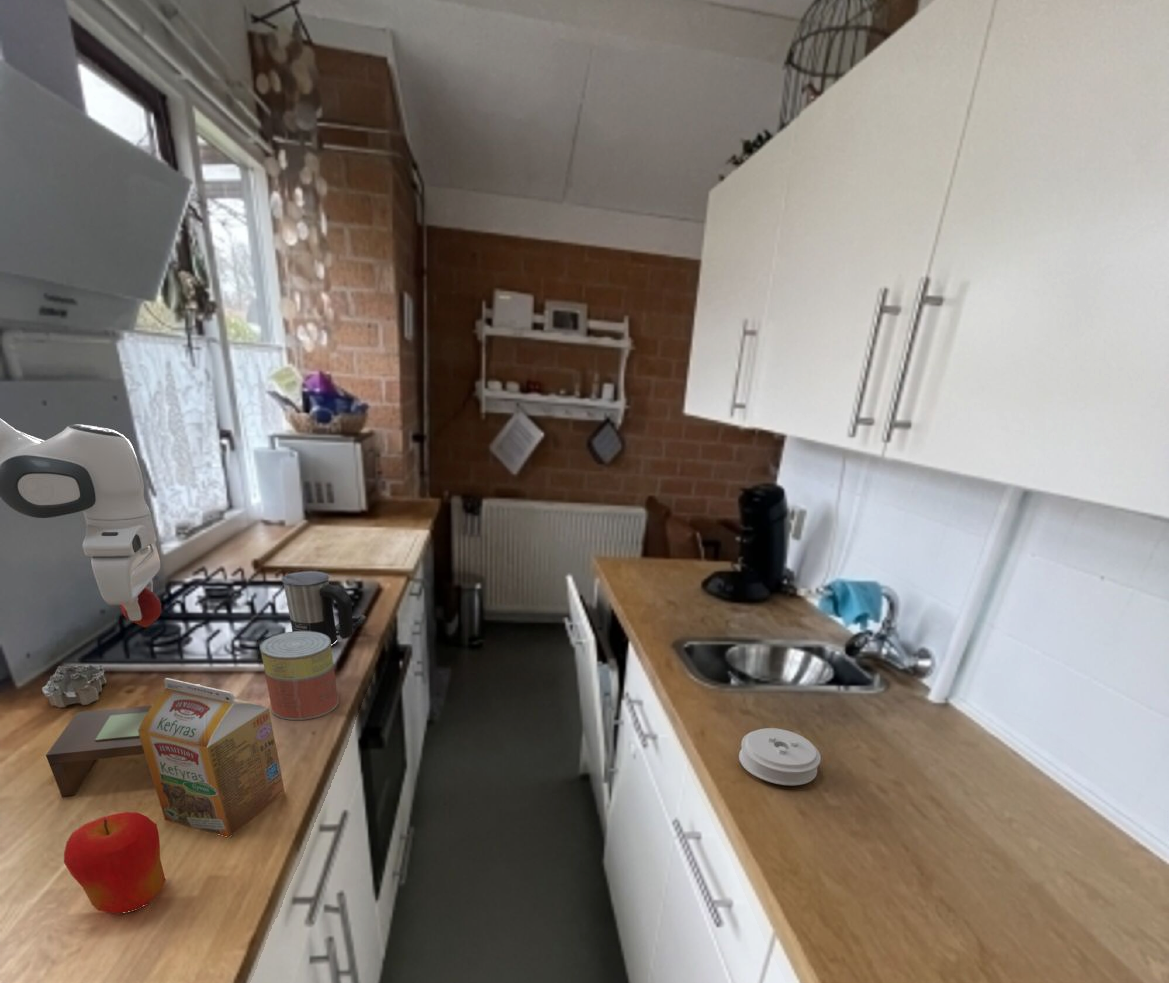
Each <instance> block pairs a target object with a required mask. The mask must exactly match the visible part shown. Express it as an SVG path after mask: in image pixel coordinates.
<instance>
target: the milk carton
mask: <svg viewBox="0 0 1169 983" xmlns="http://www.w3.org/2000/svg"><path fill="white" fill-rule="evenodd" d="M163 682H164V686H165V688H164V690H163V691H162V692H161V693H160V695H158V697H157V699H155V701H154V703H153V704H152V705H151V706H152V707H151V708H150V710H149V711H148V713H147V714H146V716H145V717H144V719H143V721H142V723H141V725H140V727H139V729H138V733H139V736H140V739H141V743H142V746H143V749H144V752H145V754H144V755H145V759H146V762H147V765H148V766H147V767H148V769H149V772H150V776H151V778H152V782H153V785H154V788H155V789H154V790H155V791H156V794H157V799H158V802H159V805H160V808H161V812H162V815H163V818H164V820H165V821H169V822H172V823H174V824H175V823H176V824H179V825H181V826H186V827H190V828H193V829H197V830H200V831H202V832H203V831H204V832H208V833H210V832H211V833H210V834H214V833H215V834H214V835H217V834H220V835H219V836H221V835H223V836H222V837H224V836H227V837H226V838H228V837H230V836H231V835H233V834H234V833H235V832H236V833H238V832H239V831H240V830H241V829H243V828H244V827H245V826H246V825H248V824H249V823H250V822H251V821H252V820H253V819H255V818H256V817H257V816H259V815H260V814H261V813H262V812H263V811H264V810H266V809H268V807H269V806H270V805H272V804H273V803H275V801H277V800H278V799H279V798H280V797H281V796H283V795H284V794H285V793H286V792H285V785H284V781H283V775H282V771H281V765H280V759H279V755H278V754H279V753H278V749H277V743H276V739H275V738H276V737H275V734H274V727H273V722H272V719H271V718H272V717H271V713H270V708H269V707H267V706H265V705H262V704H259V703H255V702H250V701H247V700H241V699H237V698H235V696H234V693H233V692H231V691H228V690H223V689H218V688H215V687H209V686H205V685H201V684H200V685H197V684H198V683H191V682H187V681H184V680H183V681H182V680H178V679H174V678H170V677H165V678H164V679H163ZM260 812H261V813H260ZM249 821H250V822H249ZM239 829H240V830H239ZM237 831H238V832H237ZM236 833H235V834H236ZM235 834H234V835H235ZM234 835H233V836H234ZM230 838H231V837H230Z"/></svg>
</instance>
